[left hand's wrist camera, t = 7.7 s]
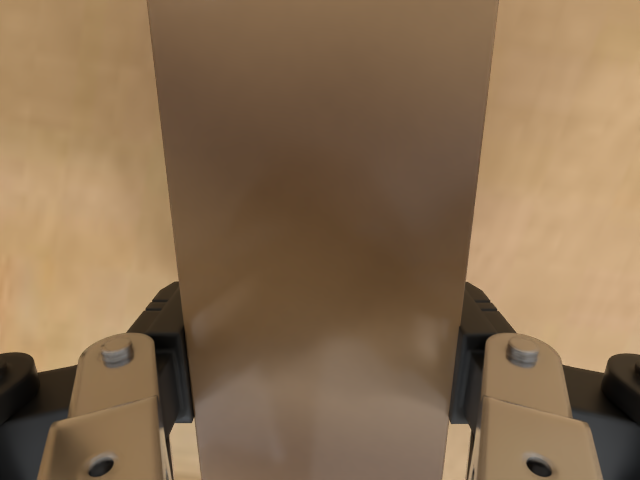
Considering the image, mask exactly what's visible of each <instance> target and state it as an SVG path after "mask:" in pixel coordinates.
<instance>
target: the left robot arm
mask: <svg viewBox="0 0 640 480" xmlns="http://www.w3.org/2000/svg"><path fill="white" fill-rule="evenodd" d="M193 418H194V409H193V401H192V392H191V383H190V374H189V366H188V357H187V348H186V339H185V330H184V322H183V313H182V304H181V295H180V287H179V282H173V283H172V284H170V285H168V286H167V287H165V288H163V289H162V290H160V291H159V293H158V294H157V295H156V296H155V298H154V299H153V300H152V302H151V303H150V304H149V305H148V306H147V307H146V311H143V312H142V314H141V315H140V316H139V317H138V319H137V320H136V321H135V322H134V324H133V325H132V326H131V327H130V329H129V330H128V331H127V332H126V333H123V334H117V335H113V336H110V337H107V338H104V339H102V340H100V341H98V342H96V343H94V344H93V345H91V346H90V347H88V348H87V349H86V350H85V351H84V352H83V353H82V354H81V356H80V358H79V361H78V365H75V366H70V367H65V368H60V369H55V370H50V371H44V372H39V373H37V370H36V366H35V363H34V360H33V358H32V357H31V356H30V355H28V354H25V353H18V352H13V353H3V354H0V480H175V477H174V468H173V459H172V450H171V442H170V436H169V434H170V432H171V430H172V427H173V425H174V423H192V421H193ZM449 420H450V422H451V424H469V426H470V428H471V436H470V442H469V449H468V458H467V467H466V477H465V480H640V355H638V354H617V355H614V356H612V357H611V358H609V360H608V363H607V366H606V369H605V373H600V372H595V371H590V370H585V369H580V368H574V367H570V366H565V365H562V361H561V358H560V356H559V354H558V353H557V352H556V351H555V350H554V349H553V348H552V347H550V346H549V345H547V344H546V343H544V342H542V341H540V340H538V339H536V338H533V337H530V336H527V335H523V334H517V333H516V332H515V331H514V329H513V328H512V327H511V326H510V324H509V323H508V322H507V321H506V319H505V318H504V317H503V316H502V315H501V313H500V312H499V311H497V308H496V307H495V306H494V305H493V304H492V303H490V300H489V299H488V297H487V296H486V295H485V294H484V292H483V291H482V290H480V289H478V288H477V287H475V286H473V285H472V284H470V283H468V282H465V290H464V298H463V307H462V315H461V324H460V326H459V332H458V340H457V349H456V357H455V366H454V374H453V383H452V391H451V400H450V408H449Z"/></svg>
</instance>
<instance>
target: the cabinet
mask: <svg viewBox="0 0 640 480" xmlns="http://www.w3.org/2000/svg"><path fill="white" fill-rule="evenodd" d="M498 3H499V0H147V6H148V15H149V24H150V32H151V41H152V50H153V59H154V68H155V76H156V85H157V94H158V103H159V111H160V120H161V129H162V138H163V146H164V155H165V164H166V173H167V181H168V190H169V199H170V208H171V217H172V225H173V234H174V243H175V252H176V260H177V269H178V278H179V287H180V295H181V304H182V313H183V322H184V330H185V339H186V348H187V357H188V366H189V374H190V383H191V392H192V401H193V409H194V418H195V427H196V436H197V444H198V453H199V462H200V471H201V480H442V476H443V467H444V459H445V450H446V442H447V434H448V425H449V408H450V400H451V391H452V383H453V374H454V366H455V357H456V349H457V340H458V332H459V326H460V324H461V315H462V307H463V298H464V290H465V282H466V273H467V265H468V256H469V248H470V239H471V231H472V222H473V214H474V206H475V197H476V189H477V180H478V172H479V163H480V155H481V146H482V138H483V130H484V121H485V113H486V104H487V96H488V87H489V79H490V70H491V62H492V54H493V45H494V37H495V28H496V20H497V11H498Z"/></svg>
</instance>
